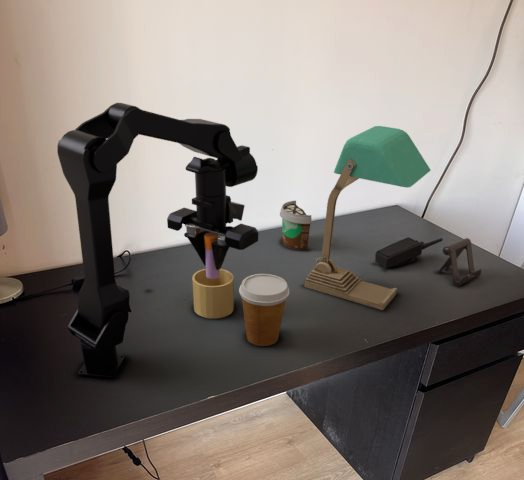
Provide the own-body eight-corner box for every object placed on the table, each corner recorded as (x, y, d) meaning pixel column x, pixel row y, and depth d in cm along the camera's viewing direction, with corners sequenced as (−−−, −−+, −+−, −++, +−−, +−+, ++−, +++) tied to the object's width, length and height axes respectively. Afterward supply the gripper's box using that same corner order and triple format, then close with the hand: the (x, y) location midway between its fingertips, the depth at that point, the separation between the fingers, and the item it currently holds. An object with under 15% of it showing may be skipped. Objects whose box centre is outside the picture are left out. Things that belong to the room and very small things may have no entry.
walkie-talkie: (369, 253, 135) (425, 232, 143) (379, 275, 135) (435, 253, 142) (382, 244, 129) (440, 222, 137) (393, 267, 129) (450, 244, 137)
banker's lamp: (326, 267, 132) (343, 118, 112) (406, 290, 124) (440, 133, 104) (297, 292, 121) (310, 132, 101) (383, 319, 113) (415, 149, 92)
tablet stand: (459, 287, 126) (468, 255, 121) (431, 275, 131) (439, 243, 126) (479, 277, 130) (489, 246, 126) (452, 266, 135) (460, 235, 130)
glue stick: (218, 279, 108) (218, 238, 103) (204, 278, 109) (202, 237, 103) (221, 273, 111) (220, 232, 106) (207, 272, 111) (205, 231, 106)
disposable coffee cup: (259, 319, 111) (260, 268, 104) (295, 336, 106) (300, 283, 99) (228, 338, 105) (228, 284, 98) (265, 357, 100) (268, 302, 93)
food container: (272, 236, 147) (273, 201, 142) (292, 234, 149) (295, 199, 143) (287, 254, 138) (289, 217, 132) (308, 252, 139) (312, 215, 134)
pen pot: (230, 320, 110) (230, 288, 106) (189, 316, 111) (188, 285, 107) (236, 300, 117) (236, 269, 113) (198, 296, 118) (197, 266, 114)
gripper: (275, 191, 101) (271, 265, 110) (198, 173, 109) (201, 243, 118) (242, 207, 93) (241, 285, 102) (162, 186, 102) (168, 260, 110)
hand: (212, 267), depth 109 cm, fingers closed on glue stick, 3 cm apart
